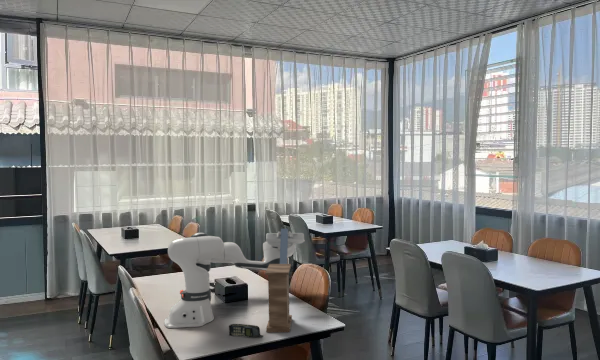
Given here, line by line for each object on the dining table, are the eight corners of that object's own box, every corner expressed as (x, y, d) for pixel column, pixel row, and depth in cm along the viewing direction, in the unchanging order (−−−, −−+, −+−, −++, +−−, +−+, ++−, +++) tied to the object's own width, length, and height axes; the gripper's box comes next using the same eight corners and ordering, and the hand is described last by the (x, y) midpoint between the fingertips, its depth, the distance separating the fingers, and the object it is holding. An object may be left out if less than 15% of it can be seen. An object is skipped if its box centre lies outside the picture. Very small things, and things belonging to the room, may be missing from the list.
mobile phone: (227, 325, 192) (261, 327, 188) (230, 322, 195) (263, 324, 191) (228, 336, 192) (261, 338, 189) (231, 334, 195) (264, 336, 191)
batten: (281, 231, 239) (281, 228, 236) (288, 231, 239) (287, 228, 236) (279, 278, 225) (279, 276, 223) (286, 278, 225) (286, 276, 223)
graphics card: (211, 280, 272) (236, 287, 254) (211, 285, 272) (236, 293, 254) (196, 283, 265) (221, 291, 247) (196, 289, 265) (221, 297, 247)
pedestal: (270, 319, 212) (269, 264, 210) (291, 319, 211) (290, 263, 210) (266, 332, 196) (265, 272, 194) (289, 332, 195) (288, 272, 194)
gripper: (305, 247, 245) (304, 238, 233) (267, 247, 246) (264, 238, 234) (305, 236, 248) (304, 227, 236) (268, 236, 249) (265, 227, 237)
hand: (284, 232), depth 235 cm, fingers closed on batten, 3 cm apart
